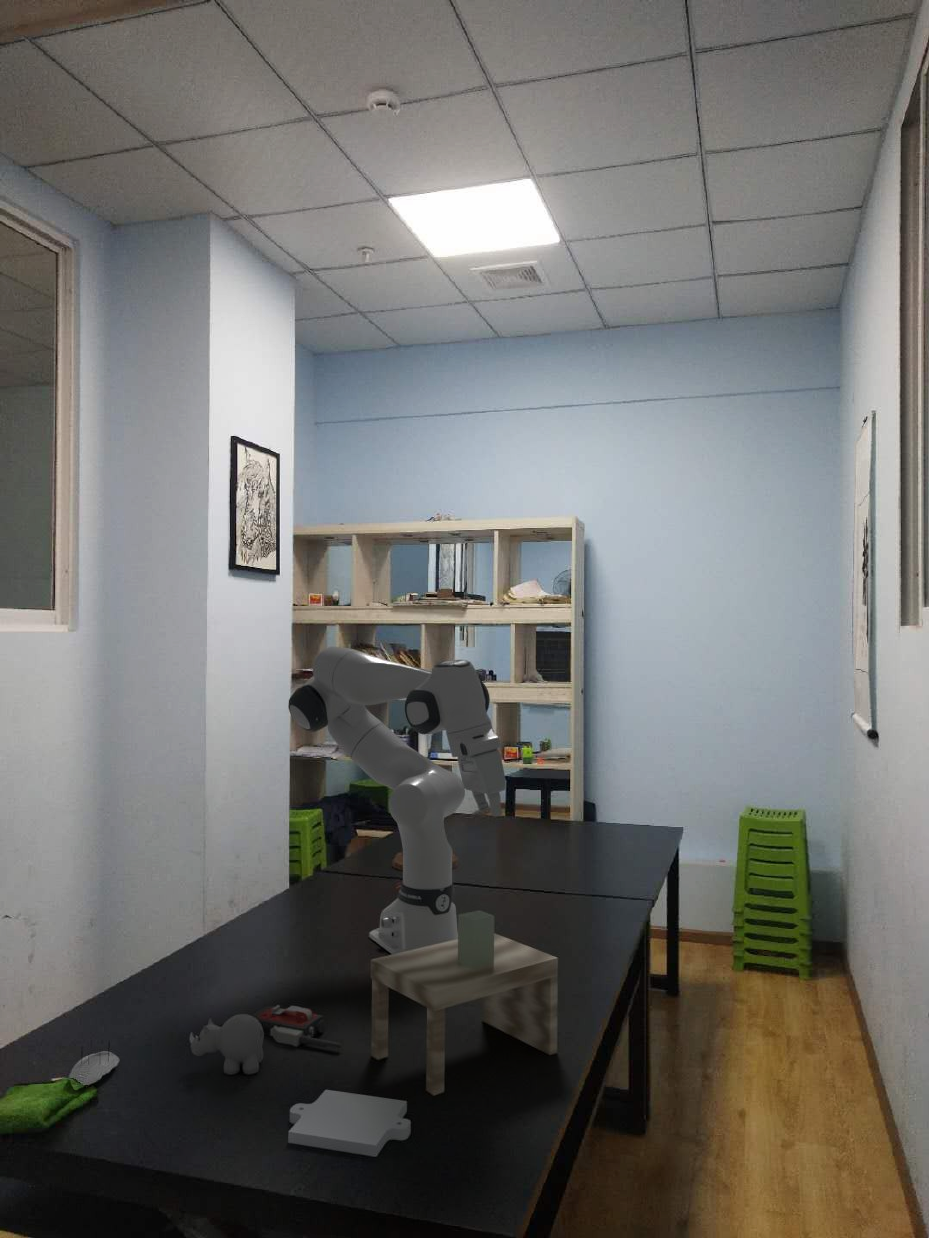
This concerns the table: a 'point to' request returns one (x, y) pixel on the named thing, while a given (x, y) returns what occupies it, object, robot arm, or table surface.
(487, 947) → the sage wooden block
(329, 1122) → the mounting plate
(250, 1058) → the chubby cartoon animal
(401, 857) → the plant
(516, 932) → the table surface
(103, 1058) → the pincushion
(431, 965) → the wood grain stool
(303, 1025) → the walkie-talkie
